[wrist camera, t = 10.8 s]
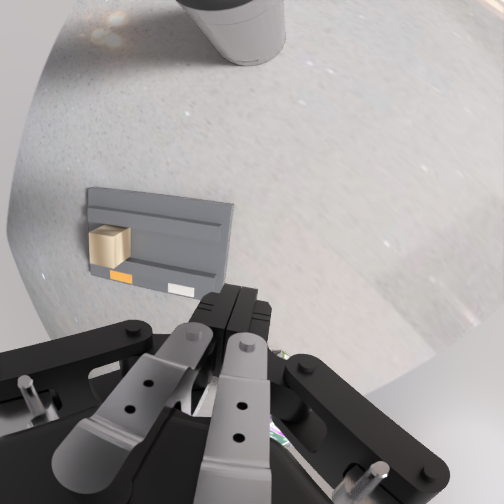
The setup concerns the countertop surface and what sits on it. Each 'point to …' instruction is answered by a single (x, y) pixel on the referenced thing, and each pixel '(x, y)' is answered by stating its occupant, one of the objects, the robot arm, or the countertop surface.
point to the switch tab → (109, 245)
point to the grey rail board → (165, 240)
